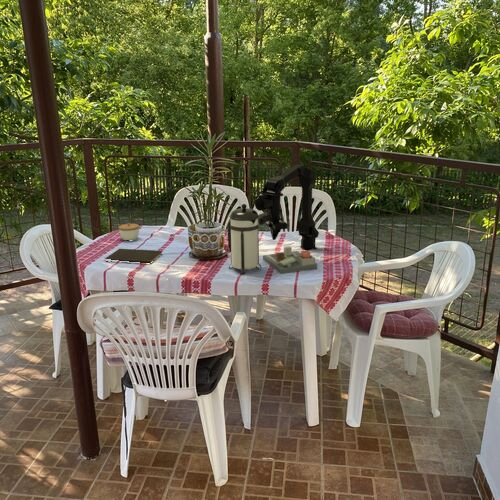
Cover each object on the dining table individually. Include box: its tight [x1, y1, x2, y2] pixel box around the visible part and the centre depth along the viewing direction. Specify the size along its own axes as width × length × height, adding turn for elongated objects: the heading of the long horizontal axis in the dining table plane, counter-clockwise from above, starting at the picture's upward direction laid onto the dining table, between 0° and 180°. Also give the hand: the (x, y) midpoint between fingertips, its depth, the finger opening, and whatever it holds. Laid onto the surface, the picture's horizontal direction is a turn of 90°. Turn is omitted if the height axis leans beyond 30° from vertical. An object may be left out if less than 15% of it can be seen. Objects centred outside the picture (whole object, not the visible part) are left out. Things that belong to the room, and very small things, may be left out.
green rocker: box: [280, 256, 295, 266], centre depth 230 cm, size 6×4×1 cm, turn 109°
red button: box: [300, 250, 311, 259], centre depth 233 cm, size 4×4×4 cm
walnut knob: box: [275, 251, 284, 262], centre depth 236 cm, size 3×2×4 cm
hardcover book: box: [104, 248, 163, 264], centre depth 251 cm, size 16×23×2 cm
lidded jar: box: [118, 222, 140, 241], centre depth 280 cm, size 11×11×9 cm
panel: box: [262, 250, 318, 275], centre depth 239 cm, size 18×21×5 cm
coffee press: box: [227, 203, 263, 275], centre depth 230 cm, size 17×16×30 cm
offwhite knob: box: [283, 245, 293, 256], centre depth 245 cm, size 3×2×4 cm
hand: (274, 239), depth 240 cm, fingers closed
